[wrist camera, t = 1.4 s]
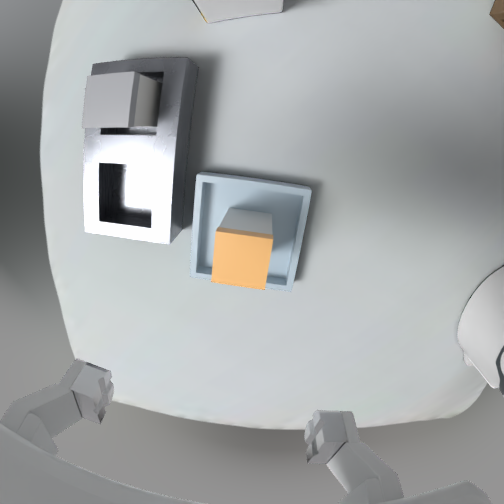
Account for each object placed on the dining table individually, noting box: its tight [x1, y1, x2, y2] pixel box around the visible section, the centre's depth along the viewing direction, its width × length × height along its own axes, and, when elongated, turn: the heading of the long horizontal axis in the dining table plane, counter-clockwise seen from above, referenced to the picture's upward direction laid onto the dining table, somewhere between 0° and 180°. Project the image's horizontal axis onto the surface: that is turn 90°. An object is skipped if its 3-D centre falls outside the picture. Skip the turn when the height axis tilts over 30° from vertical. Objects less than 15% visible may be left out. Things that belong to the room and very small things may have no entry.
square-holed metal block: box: [83, 57, 199, 244], centre depth 24 cm, size 16×9×4 cm, turn 173°
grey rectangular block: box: [82, 72, 163, 128], centre depth 20 cm, size 4×4×7 cm
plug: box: [211, 208, 273, 290], centre depth 25 cm, size 4×4×7 cm
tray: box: [190, 172, 312, 292], centre depth 28 cm, size 10×10×2 cm
